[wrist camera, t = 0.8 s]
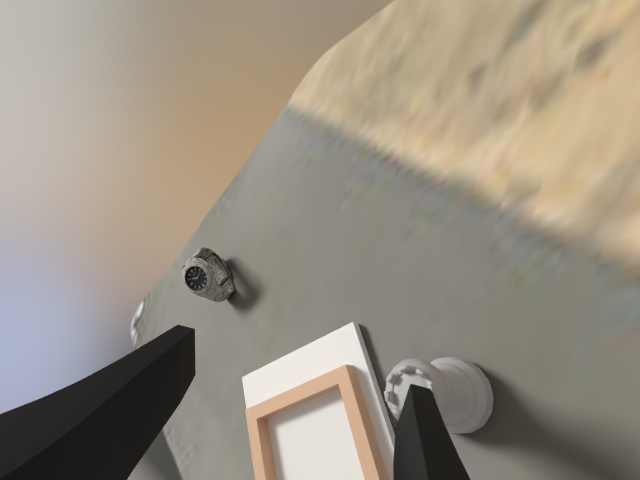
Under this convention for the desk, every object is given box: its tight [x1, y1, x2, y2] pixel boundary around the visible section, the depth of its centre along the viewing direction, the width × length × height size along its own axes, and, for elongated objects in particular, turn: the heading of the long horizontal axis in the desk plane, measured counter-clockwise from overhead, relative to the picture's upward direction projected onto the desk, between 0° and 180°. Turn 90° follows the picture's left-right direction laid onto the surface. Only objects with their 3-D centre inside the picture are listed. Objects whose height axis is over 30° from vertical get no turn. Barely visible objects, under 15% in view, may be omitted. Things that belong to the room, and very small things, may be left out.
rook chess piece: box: [384, 357, 494, 434], centre depth 21 cm, size 4×4×8 cm
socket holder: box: [242, 322, 395, 480], centre depth 27 cm, size 16×12×2 cm
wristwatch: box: [182, 247, 235, 302], centre depth 38 cm, size 4×6×5 cm, turn 29°
